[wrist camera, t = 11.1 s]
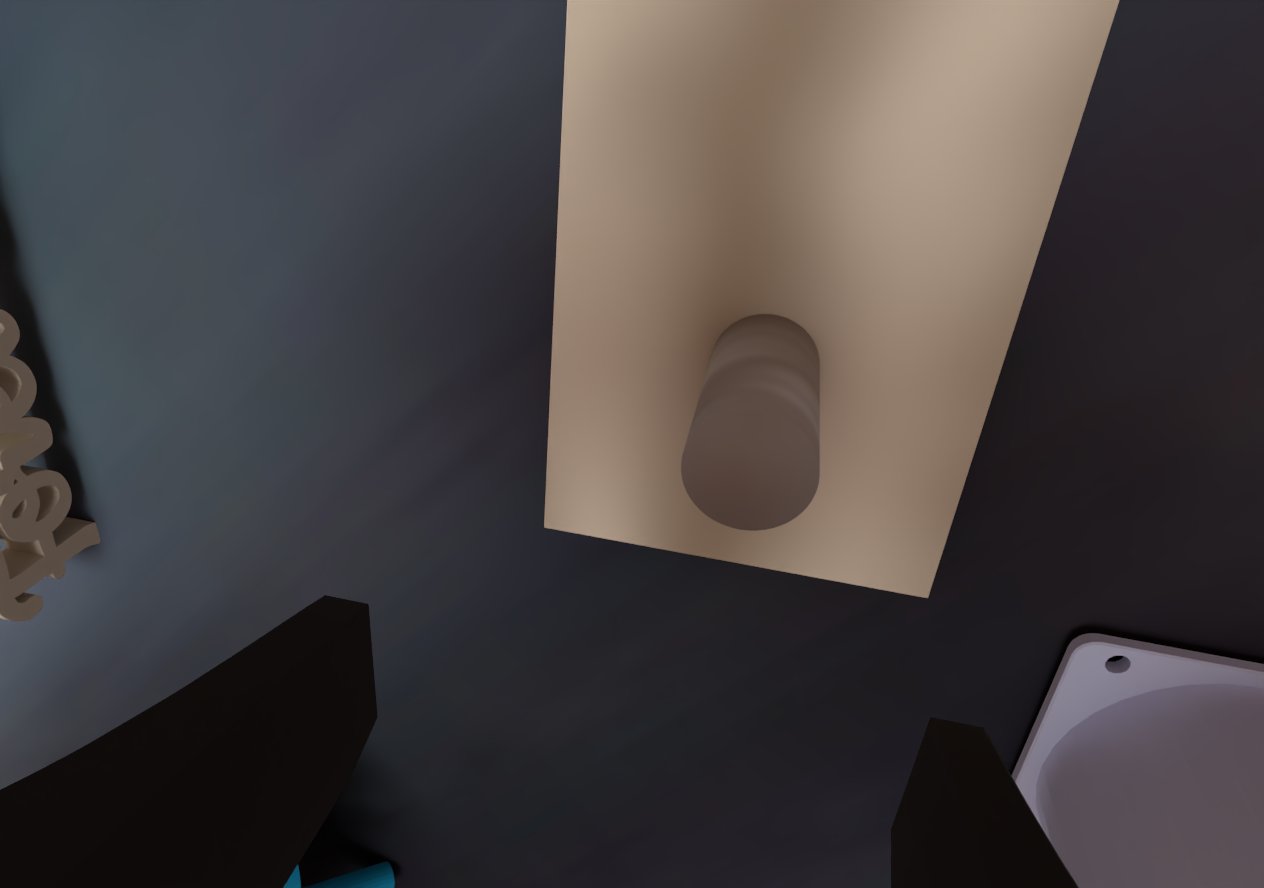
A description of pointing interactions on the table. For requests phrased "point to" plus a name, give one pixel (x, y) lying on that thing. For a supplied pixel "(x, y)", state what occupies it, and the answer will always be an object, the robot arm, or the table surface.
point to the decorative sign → (29, 492)
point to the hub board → (798, 266)
